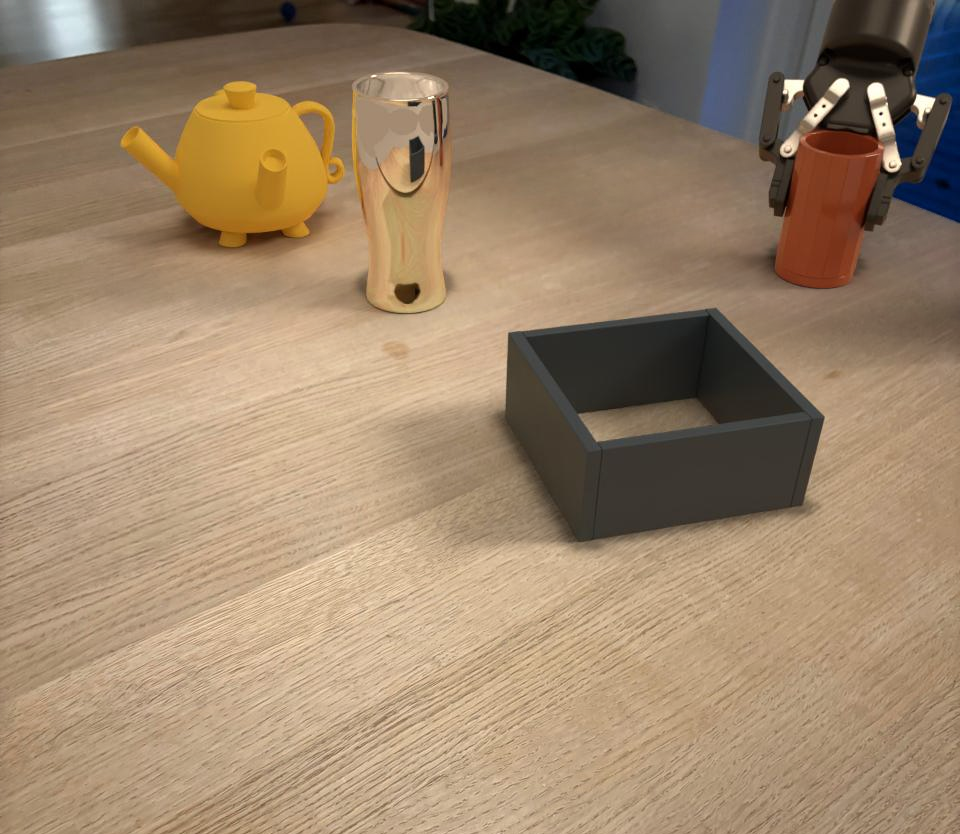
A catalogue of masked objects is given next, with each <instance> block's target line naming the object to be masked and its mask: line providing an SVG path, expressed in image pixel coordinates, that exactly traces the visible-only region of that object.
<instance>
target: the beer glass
mask: <svg viewBox="0 0 960 834" xmlns="http://www.w3.org/2000/svg"><path fill="white" fill-rule="evenodd" d="M449 87H450V85H449V83H448V81H445V80H444V79H443V78H442V77H438V76H436V75H433V74H430V73H429V74H428V73H424V72H416V71H384V72H377V73H371V74H368V75H364V76H362V77H358V79H355V80H354V81H353V83H352V84H351V92H352V93H351V95H352V96H351V97H352V99H351V152H352V153H351V154H352V164H353V172H354V178H355V184H356V189H357V194H358V199H359V205H360V208H361V212H362V217H363V221H364V227H365V230H366V236H367V240H368V241H367V243H368V251H369V253H368V254H369V261H368V263H369V264H368V273H367V280H366V289H365V296H366V299H367V301H368V303H369V304H371V305H372V306H373V307H375V308H377V309H380V310H381V311H385V312H389V313H396V314H416V313H422V312H426V311H427V312H428V311H430V310H432V309H435V308H437V307H438V306H440V305H441V304H442V303H443V302H444V301H445V299H446V297H447V296H446V295H447V290H446V283H445V277H444V273H443V267H442V257H441V255H442V254H441V248H442V247H441V245H442V234H443V228H444V221H445V215H446V209H447V203H448V198H449V191H450V184H451V177H452V176H451V175H452V162H453V161H452V157H453V155H452V154H453V139H452V120H451V108H450V94H449V93H450V92H449V89H450V88H449Z"/></svg>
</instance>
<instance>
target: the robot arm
mask: <svg viewBox="0 0 960 834" xmlns="http://www.w3.org/2000/svg"><path fill="white" fill-rule="evenodd" d="M937 1H938V0H833V2H832V6H831V9H830V12H829V15H828V19H827V21H826V22H827V23H826V26H825V29H824V33H823V36H822V40H821V44H820V47H819V51H818V55H817V59H816V61H815V65H814V67H813V69H812V70H811V72H809V73H808V75H807V76H806V77H805V78H804V79H791V78H790V79H787V78H785V75H784V73H783V72H780V71H774V72H772V73H771V74H770V75H769V77H768V81H767V82H768V83H767V88H766V94H765V98H764V104H763V105H764V106H763V111H762V117H761V123H760V130H759V136H758V157H759V159H760V160H761V161H762V162H770V163H771V164H773V165H774V166H775V169H774V172H773V175H772V178H771V182H770V186H769V189H768V206H769V208H770V209H773V217H779V218H784V214H785V209H786V204H787V199H788V194H789V189H790V184H791V179H792V174H793V169H794V163H795V158H796V153H797V148H798V143H799V138H800V136H801V135H803V134H805V133H806V132H810V133H812V132H814V131H816V130H822V129H826V130H831V131H836V132H837V131H847V132H851V133H855V134H861V135H869V136H872V137H874V138H876V139H877V140H878V141H879V142H882V143H883V144H884V154H883V158H882V162H881V166H880V170H879V174H878V178H877V181H876V184H875V188H874V191H873V195H872V199H871V202H870V206H869V209H868V213H867V217H866V221H865V226H864V232H870V233H873V232H874V230H875V225H877V226H883V224H884V223H885V222H886V220H887V218H888V213H889V210H890V206H891V203H892V200H893V195H894V192H895V189H896V188H897V186H899V185H900V184H902V183H908V182H909V183H910V184H914V185H915V184H919V183H921V182H922V181H923V179H924V177H925V175H926V172H927V170H928V168H929V166H930V163H931V160H932V158H933V155H934V152H935V151H936V148H937V145H938V143H939V141H940V138H941V135H942V133H943V130H944V128H945V125H946V123H947V121H948V116H949V114H950V110H951V107H952V102H953V97H952V95H951V94H950V93H947V92H942V93H939V94H938V95H936V97H932V96H928V95H923V94H919V93H917V89H916V84H915V83H916V82H915V80H916V75H917V72H918V69H919V65H920V62H921V58H922V54H923V51H924V47H925V44H926V40H927V37H928V33H929V31H930V30H929V29H930V26H931V24H932V21H933V19H934V16H935V14H936V13H935V12H936V11H935V10H936V9H935V8H936V5H937ZM800 98H802V101H803V103H804V105H805V107H806V110H807V113H806V114H805V115H804V116H803V118H802V119H800V121H799V123H798V124H797V127H796V129H795V130H794V131H793V132H792V133H791V135H789V137H787V139H786V140H785V141H783V140H782V139H780V138H778V137H779V131H780V124H781V119H782V112H787V111H789V110H790V109H792V107H793V104H794V102H795V101H796V100H797V99H800ZM911 113H913V114H915V116H916V126H917V128H918V129H920V130H921V133H920V135H919V139H918V141H917V144H916V146H915V148H914V151H913V153H912V156H908V157H902V158H901V157H900V153H899V152H900V151H899V149H898V145H897V140H896V139H897V138H896V132H895V127H896V126H897V125H898V124H899V123H901V122H902V121H903V120H904V119H905V118H906V117H908V116H909V115H910V114H911Z"/></svg>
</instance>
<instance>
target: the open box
mask: <svg viewBox="0 0 960 834" xmlns="http://www.w3.org/2000/svg"><path fill="white" fill-rule="evenodd" d="M506 353H507V355H506V356H507V357H506V378H505V379H506V381H505V383H506V384H505V405H504V406H505V409H504V410H505V411H504V418H505V420H506V421H507V424H508V425H509V427H510V428H511V430H512V432H513V433H514V435H515V437H516V439H517V440H518V442H519V444H520V445H521V447H522V449H523V451H524V452H525V454H526V455H527V457H528V460H529V461H530V462H531V464H532V466H533V467H534V469H535V470H536V473H537V474H538V476H539V477H540V479H541V481H542V482H543V484H544V486H545V488H546V490H547V491H548V493H549V494H550V496H551V498H552V500H553V501H554V503H555V504H556V507H557V509H559V511H560V513H561V515H562V517H563V519H564V520H565V522H566V523H567V525H568V526H569V528H570V531H572V533H573V535H574V537H575V538H576V540H577V542H578V543H583V542H584V543H585V542H589V541H595V540H596V541H597V540H601V539H607V538H614V537H620V536H625V535H631V534H639V533H644V532H650V531H655V530H657V531H658V530H662V529H668V528H674V527H680V526H681V527H682V526H686V525H692V524H699V523H704V522H711V521H717V520H723V519H728V518H734V517H735V518H736V517H742V516H746V515H747V516H748V515H754V514H760V513H766V512H772V511H777V510H783V509H789V508H795V507H801V506H803V505H804V502H805V497H806V493H807V491H808V485H809V482H810V477H811V473H812V470H813V466H814V462H815V458H816V453H817V450H818V446H819V442H820V439H821V435H822V430H823V426H824V422H825V418H826V417H825V415H824V414H823V413H822V412H821V411H820V410H819V409H818V408H817V407H816V406H815V405H814V404H813V403H812V402H811V401H810V400H809V399H808V398H807V396H805V395H804V394H803V393H802V392H801V391H800V390H799V389H798V388H797V387H796V386H795V385H794V384H793V383H792V382H791V381H790V380H789V379H788V378H787V377H786V376H785V375H784V374H783V373H782V372H781V371H780V370H779V368H777V367H776V366H775V365H774V364H773V363H772V362H771V361H770V360H769V359H768V358H767V357H766V356H765V355H764V354H763V353H762V352H761V351H760V350H759V349H758V348H757V347H756V346H755V345H754V343H752V342H751V341H750V340H749V339H748V338H747V337H746V336H745V335H744V334H743V333H742V332H741V331H740V330H739V328H738V327H736V326H735V325H734V324H733V323H732V322H731V321H730V320H729V319H728V318H727V317H726V316H725V315H724V314H723V312H721V311H720V310H719V309H718V308H717V307H711V308H705V309H703V308H702V309H696V310H687V311H679V312H670V313H669V312H668V313H661V314H655V315H645V316H637V317H636V316H635V317H629V318H628V317H627V318H620V319H612V320H604V321H603V320H602V321H595V322H594V321H593V322H586V323H578V324H570V325H569V324H568V325H562V326H554V327H545V328H536V329H535V328H534V329H528V330H516V331H508V333H507V352H506ZM687 399H688V400H689V399H697V400H698V401H699V403H700V404H701V405H702V406H703V407H704V409H706V411H707V412H708V413H709V414H710V416H712V417H713V419H714V420H715V421H716V422H717V424H713V425H712V424H711V425H704V426H697V427H691V428H683V429H676V430H669V431H662V432H655V433H648V434H642V435H635V436H627V437H622V438H615V439H614V438H613V439H608V440H607V439H606V440H600V441H599V440H598V441H597V440H596V438H595V437H594V436H593V435H592V433H591V432H590V430H589V429H588V427H587V426H586V425H585V423H584V421H583V420H582V418H581V417H580V415H579V414H587V413H594V412H599V411H600V412H602V411H609V410H615V409H623V408H630V407H638V406H646V405H652V404H659V403H660V404H661V403H667V402H674V401H680V400H687Z"/></svg>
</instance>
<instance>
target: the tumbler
mask: <svg viewBox="0 0 960 834" xmlns="http://www.w3.org/2000/svg"><path fill="white" fill-rule="evenodd" d="M883 154H884V144H883V143H882V142H879V141H878V140H877V139H876V138H874V137H872V136H869V135H861V134H855V133H851V132H847V131H837V132H836V131H831V130H826V129H822V130H816V131H814V132H812V133H810V132H806V133H805V134H803V135H801V136H800V138H799V143H798V148H797V153H796V158H795V163H794V169H793V174H792V179H791V184H790V189H789V194H788V199H787V204H786V208H785V212H784V215H783V220H782V224H781V229H780V235H779V239H778V244H777V250H776V255H775V260H774V261H775V262H774V268H773V269H774V272H775V273H776V274H777V276H778V277H780V278H782V279H783V280H785V281H787V282H789V283H792V284H794V285H798V286H802V287H807V288H813V289H833V288H839V287H842V286H845V285H847V284H849V283H850V282H851V281H852V280H853V277H854V273H855V270H856V267H857V264H858V260H859V255H860V252H861V247H862V242H863V239H864V235H865V231H864V226H865V221H866V217H867V213H868V209H869V206H870V202H871V199H872V195H873V191H874V188H875V184H876V181H877V178H878V174H879V170H880V166H881V162H882V158H883Z"/></svg>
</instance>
